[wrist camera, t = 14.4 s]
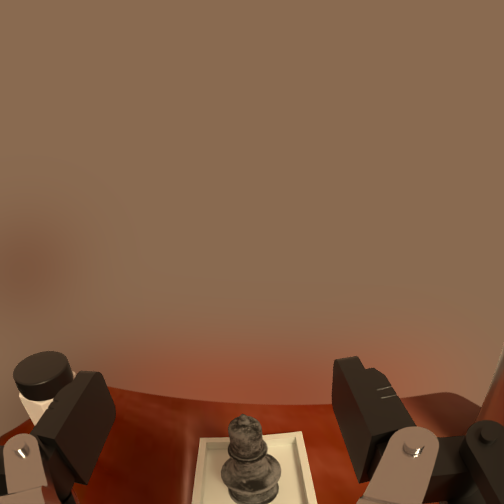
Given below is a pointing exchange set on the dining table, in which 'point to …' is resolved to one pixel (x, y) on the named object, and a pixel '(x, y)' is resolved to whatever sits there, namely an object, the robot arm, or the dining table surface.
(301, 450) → the tray
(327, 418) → the dining table surface
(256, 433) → the salt shaker
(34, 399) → the jar
